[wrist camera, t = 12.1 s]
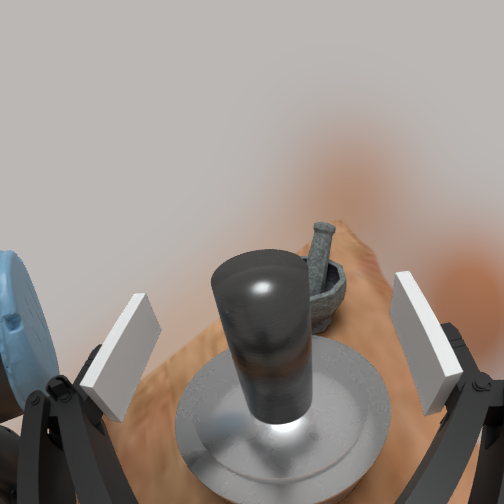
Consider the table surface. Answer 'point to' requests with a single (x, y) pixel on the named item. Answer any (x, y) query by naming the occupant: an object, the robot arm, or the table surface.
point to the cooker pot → (301, 493)
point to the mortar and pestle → (323, 278)
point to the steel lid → (276, 378)
